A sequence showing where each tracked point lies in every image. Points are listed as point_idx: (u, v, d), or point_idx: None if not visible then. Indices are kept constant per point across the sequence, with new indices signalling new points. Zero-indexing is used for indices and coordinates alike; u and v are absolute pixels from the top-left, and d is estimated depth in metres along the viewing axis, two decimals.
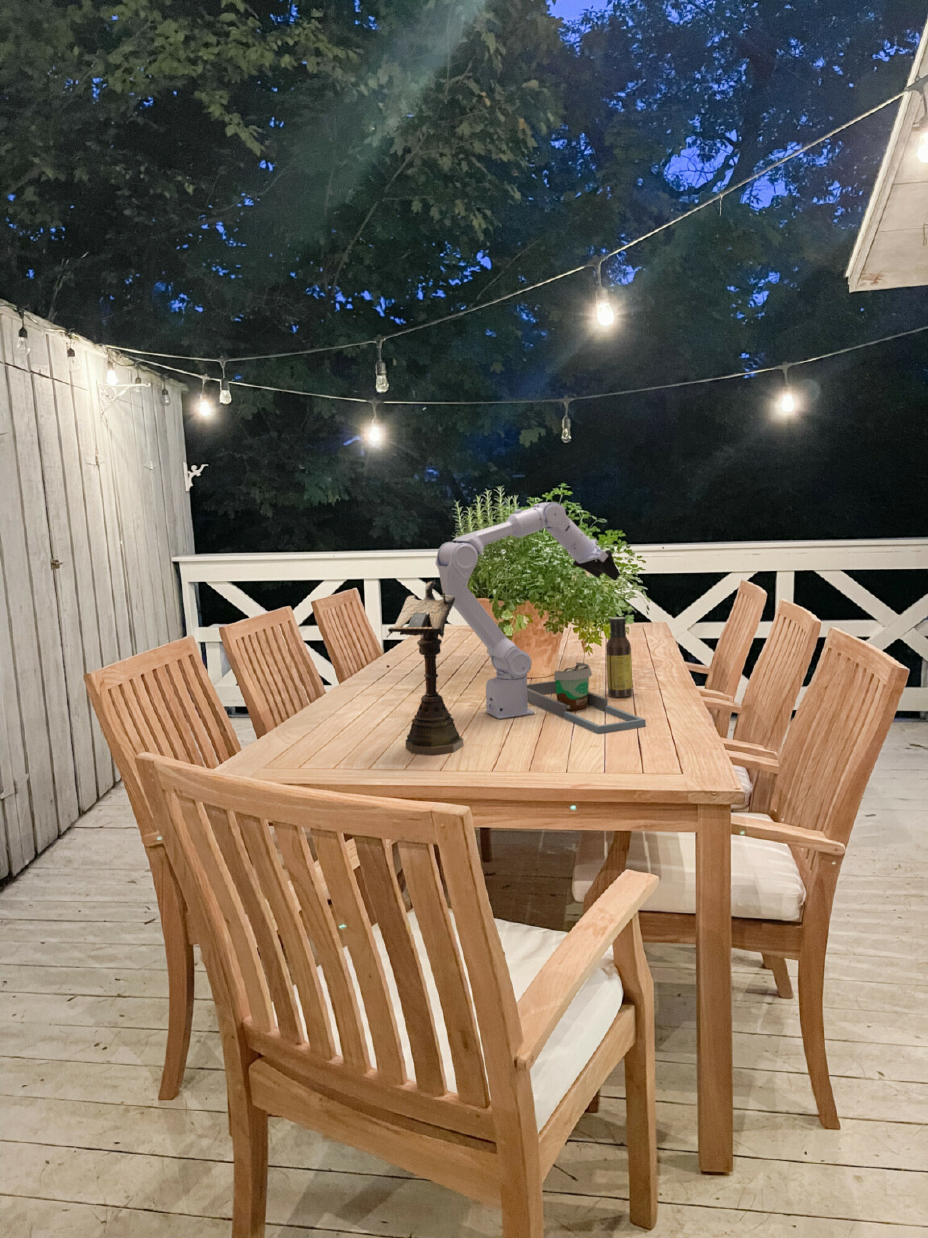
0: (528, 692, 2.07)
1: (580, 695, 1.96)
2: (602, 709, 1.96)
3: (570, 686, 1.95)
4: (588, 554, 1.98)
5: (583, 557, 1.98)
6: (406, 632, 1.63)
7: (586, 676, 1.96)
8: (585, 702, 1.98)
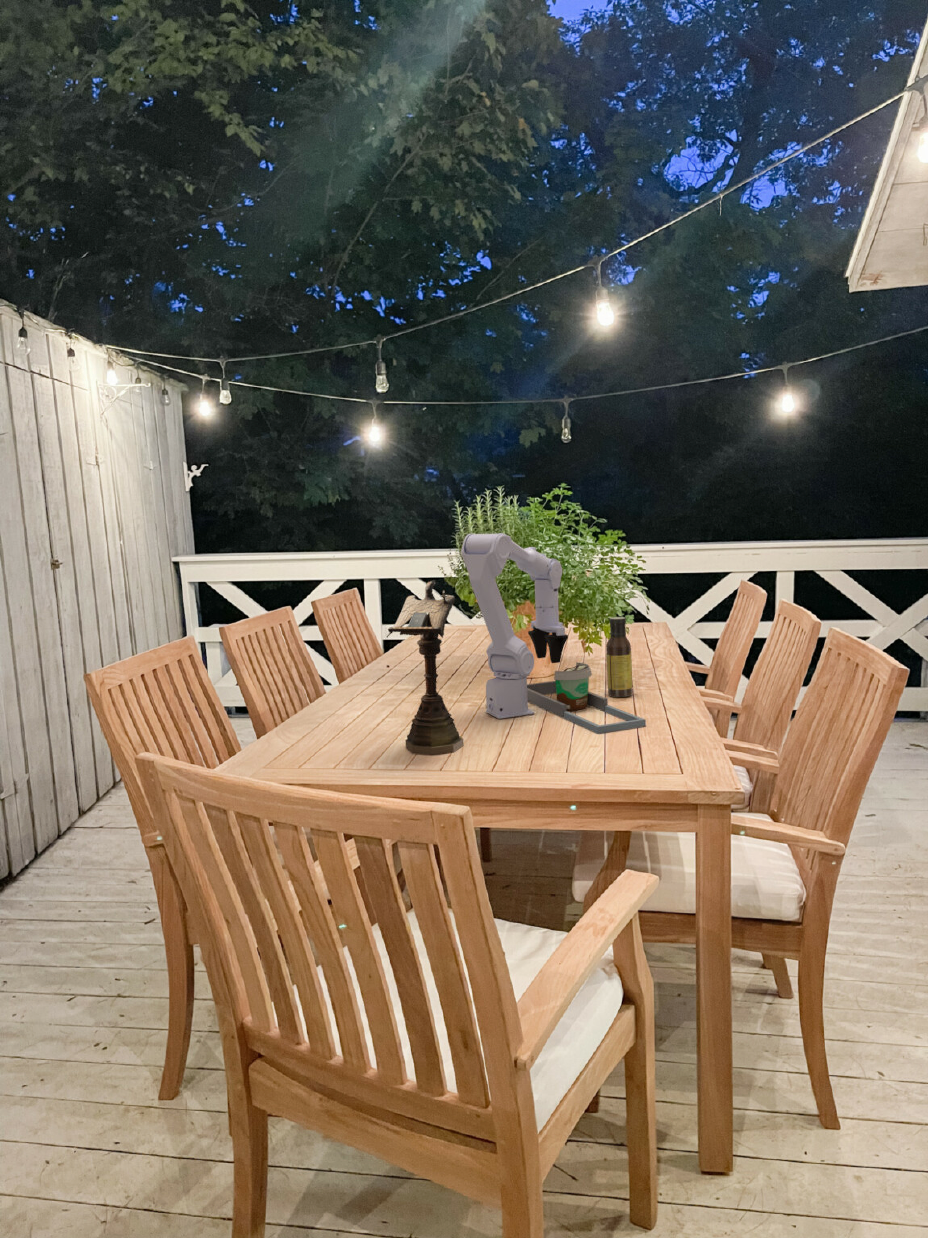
0: (528, 692, 2.07)
1: (580, 695, 1.96)
2: (602, 709, 1.96)
3: (570, 686, 1.95)
4: (549, 625, 2.04)
5: (544, 624, 2.05)
6: (406, 632, 1.63)
7: (586, 676, 1.96)
8: (585, 702, 1.98)
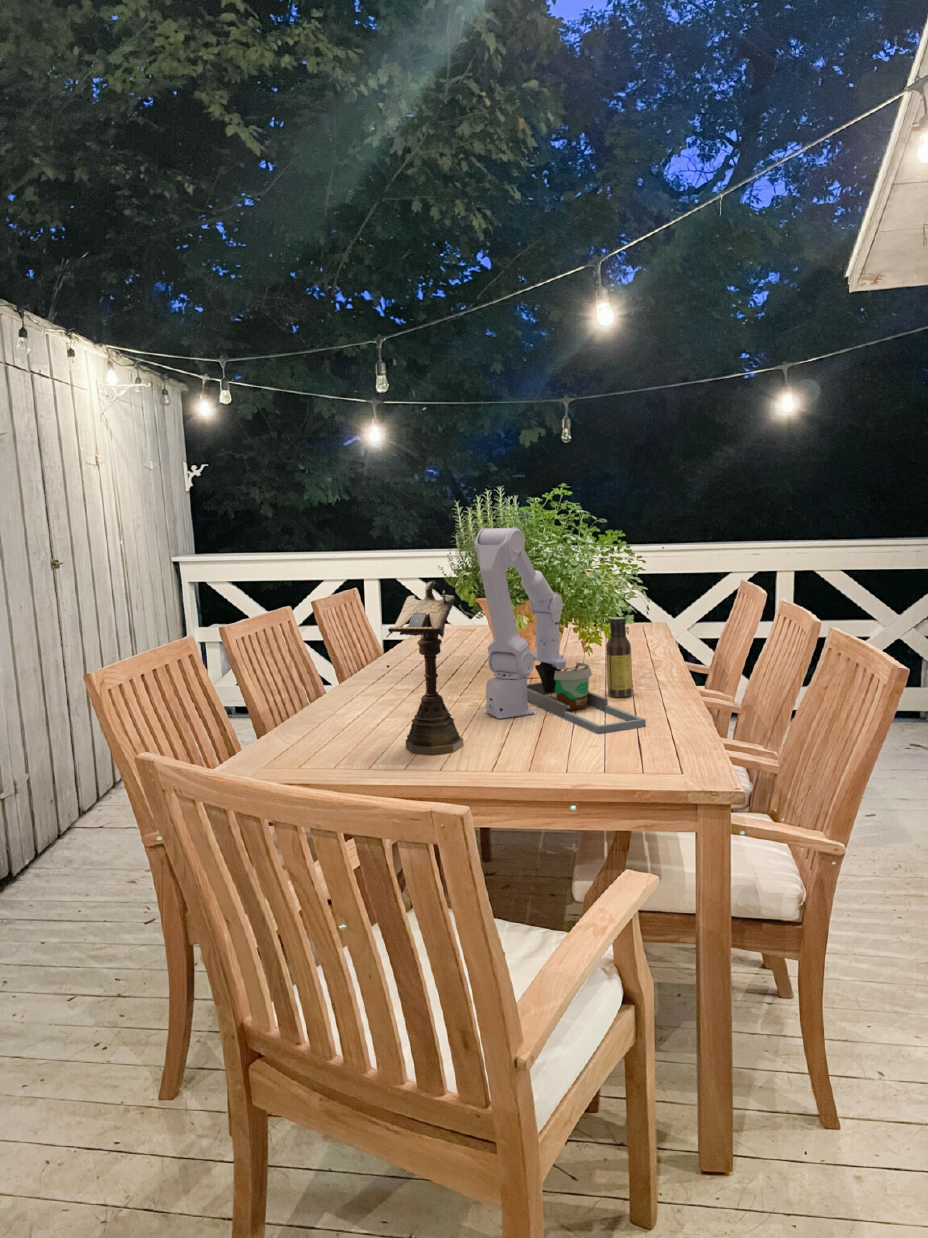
0: (528, 692, 2.07)
1: (580, 695, 1.96)
2: (602, 709, 1.96)
3: (570, 686, 1.95)
4: (550, 658, 2.06)
5: (544, 657, 2.06)
6: (406, 632, 1.63)
7: (586, 676, 1.96)
8: (585, 702, 1.98)
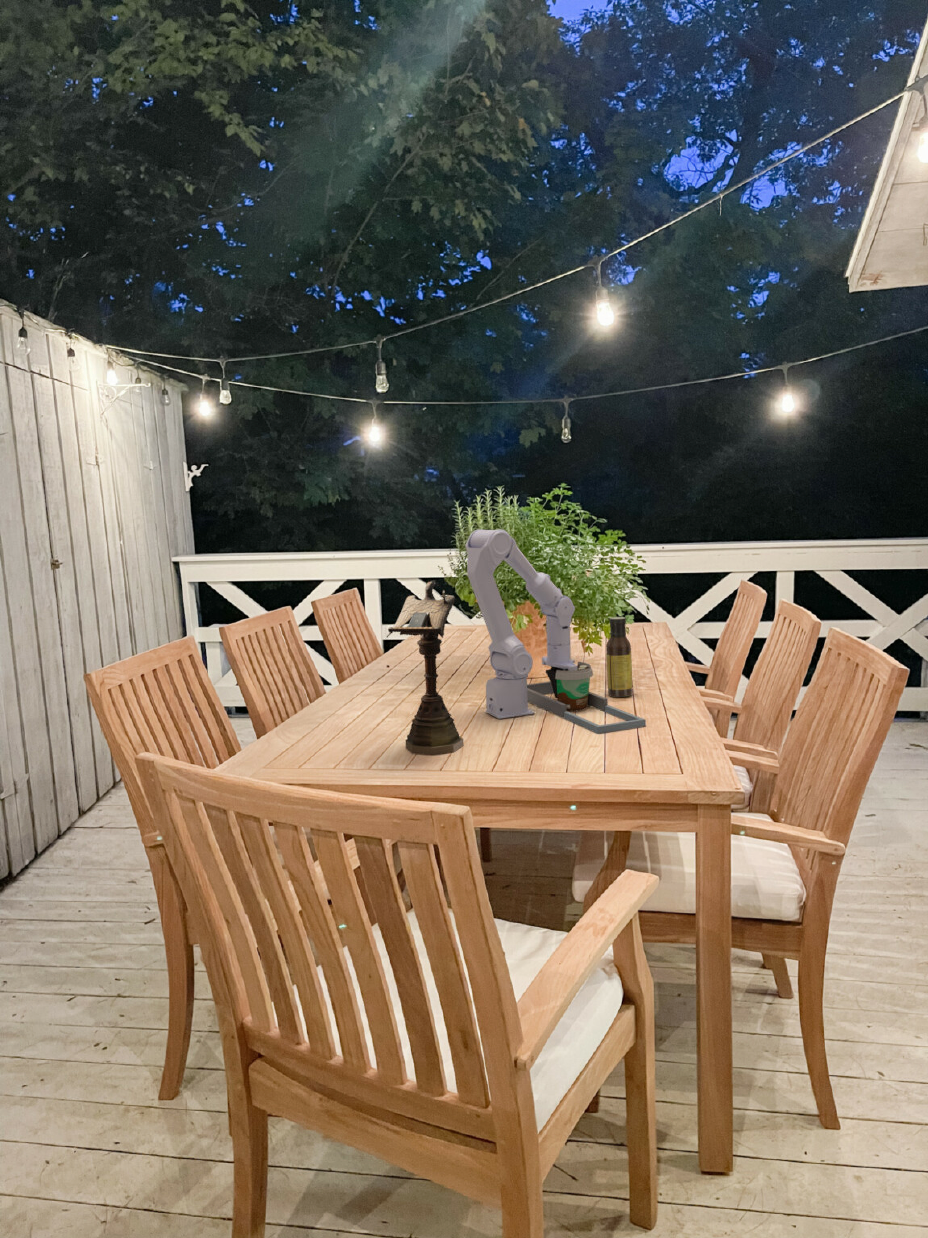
0: (528, 692, 2.07)
1: (580, 695, 1.96)
2: (602, 709, 1.96)
3: (571, 685, 1.95)
4: (561, 662, 2.00)
5: (556, 662, 2.01)
6: (406, 632, 1.63)
7: (587, 676, 1.96)
8: (585, 702, 1.98)
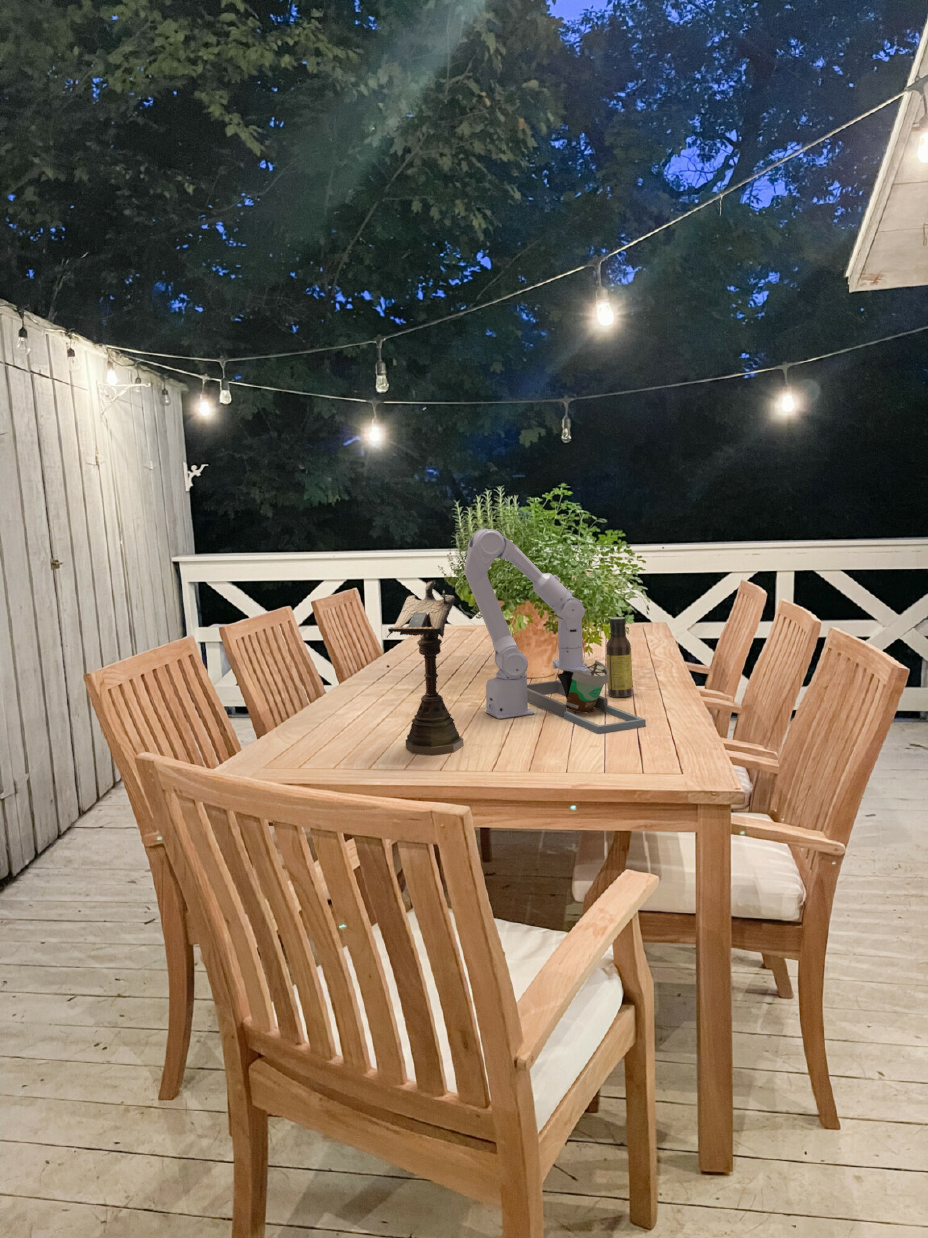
0: (528, 692, 2.07)
1: (591, 698, 1.93)
2: (602, 709, 1.96)
3: (585, 688, 1.91)
4: (573, 666, 1.95)
5: (567, 665, 1.95)
6: (406, 632, 1.63)
7: (603, 683, 1.92)
8: (594, 705, 1.95)
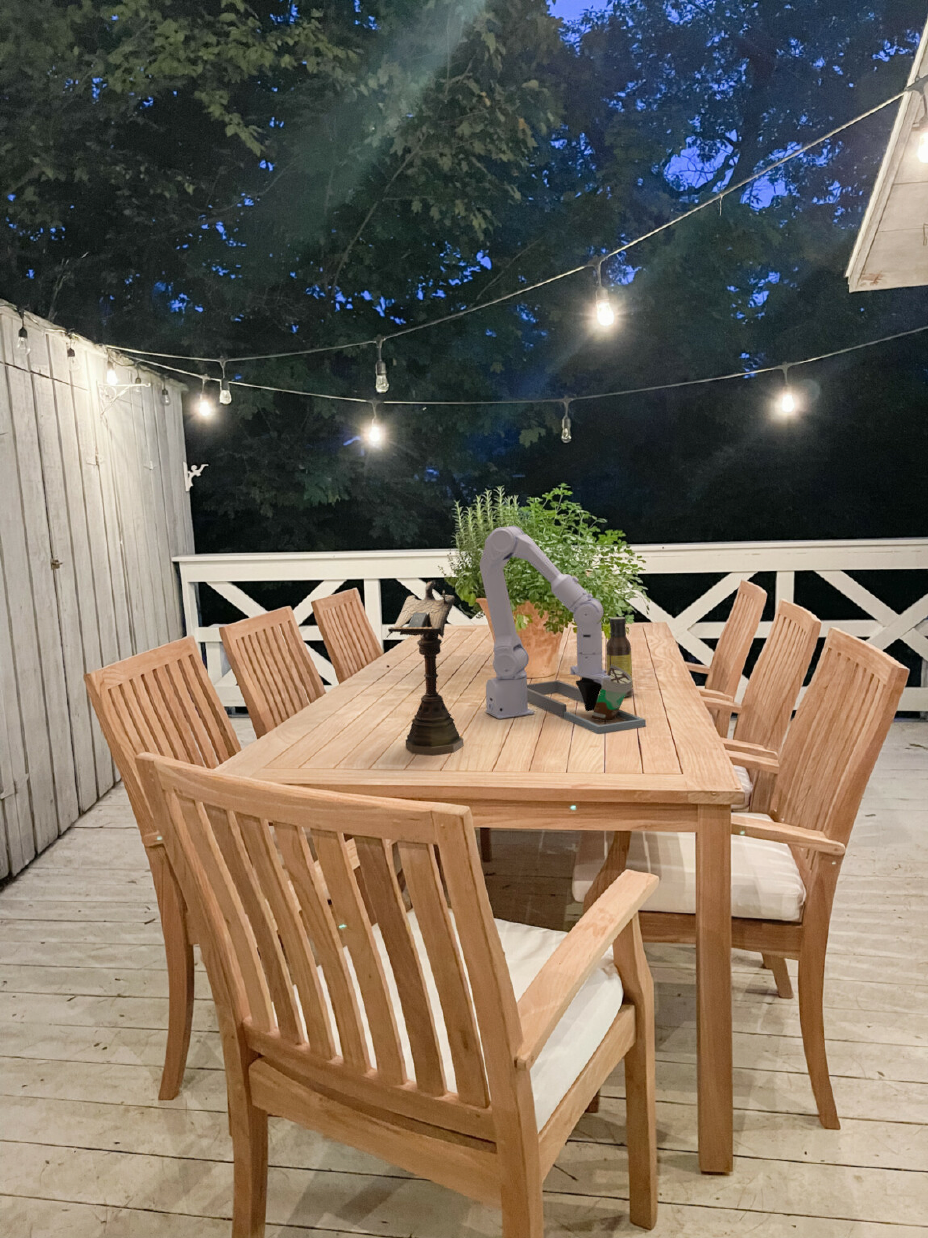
0: (528, 692, 2.07)
1: (617, 706, 1.86)
2: None
3: (614, 697, 1.83)
4: (593, 673, 1.87)
5: (587, 672, 1.87)
6: (406, 632, 1.63)
7: (630, 689, 1.85)
8: (617, 712, 1.88)
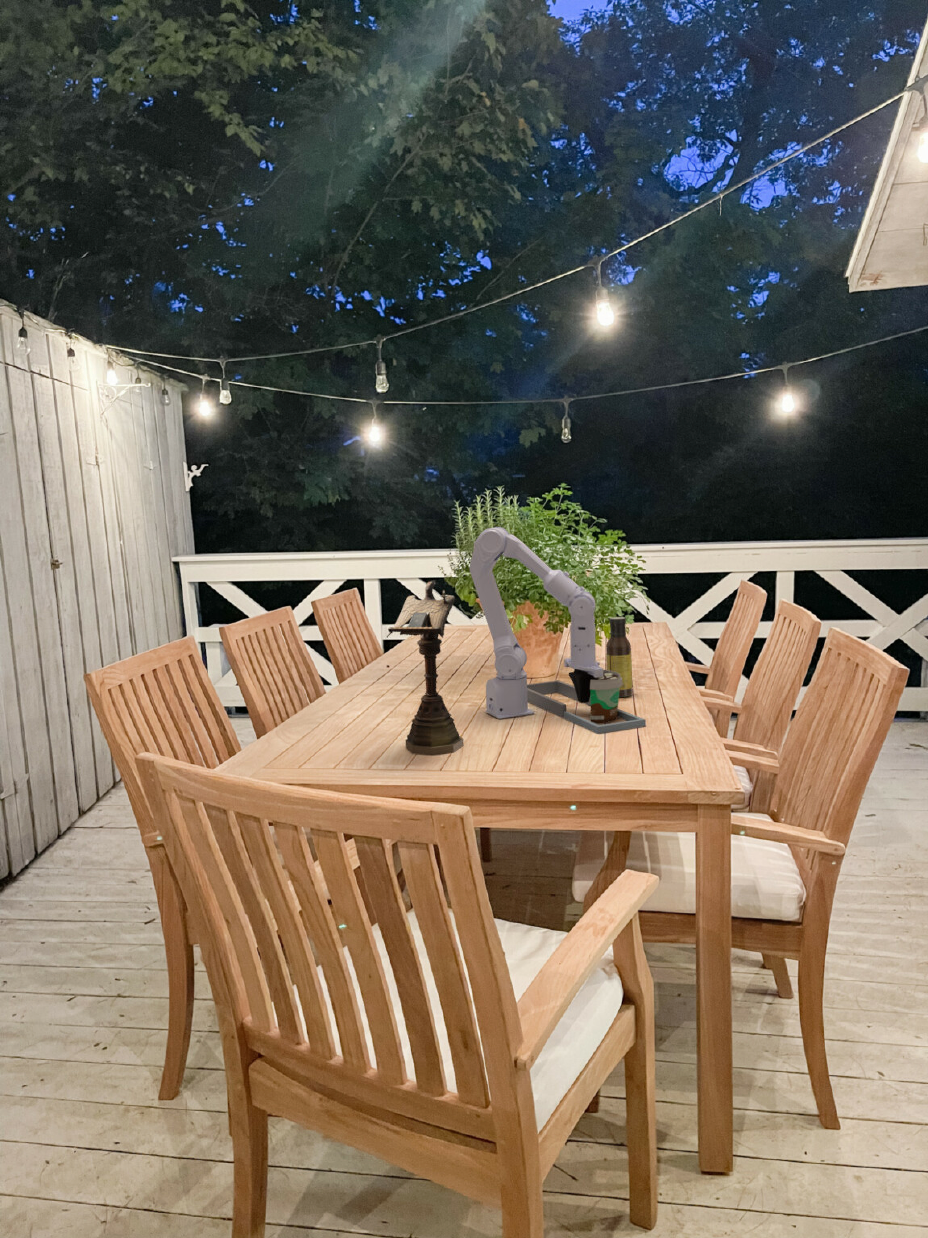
0: (528, 692, 2.07)
1: (613, 704, 1.86)
2: None
3: (605, 695, 1.84)
4: (586, 665, 1.89)
5: (580, 664, 1.90)
6: (406, 632, 1.63)
7: (620, 685, 1.85)
8: (616, 712, 1.88)
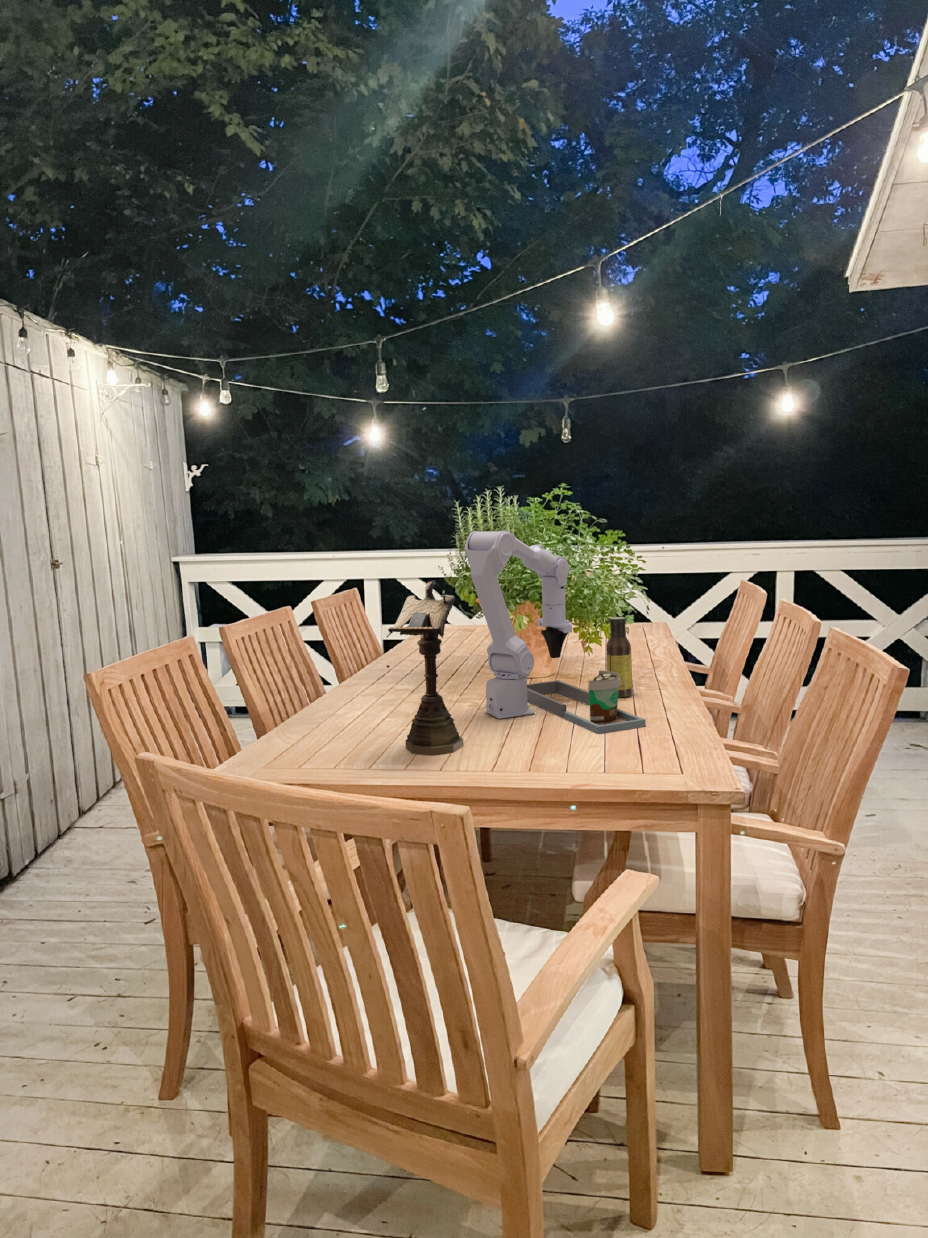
0: (528, 692, 2.07)
1: (613, 705, 1.86)
2: None
3: (604, 695, 1.84)
4: (556, 622, 2.05)
5: (551, 621, 2.05)
6: (406, 632, 1.63)
7: (619, 684, 1.86)
8: (616, 712, 1.88)
